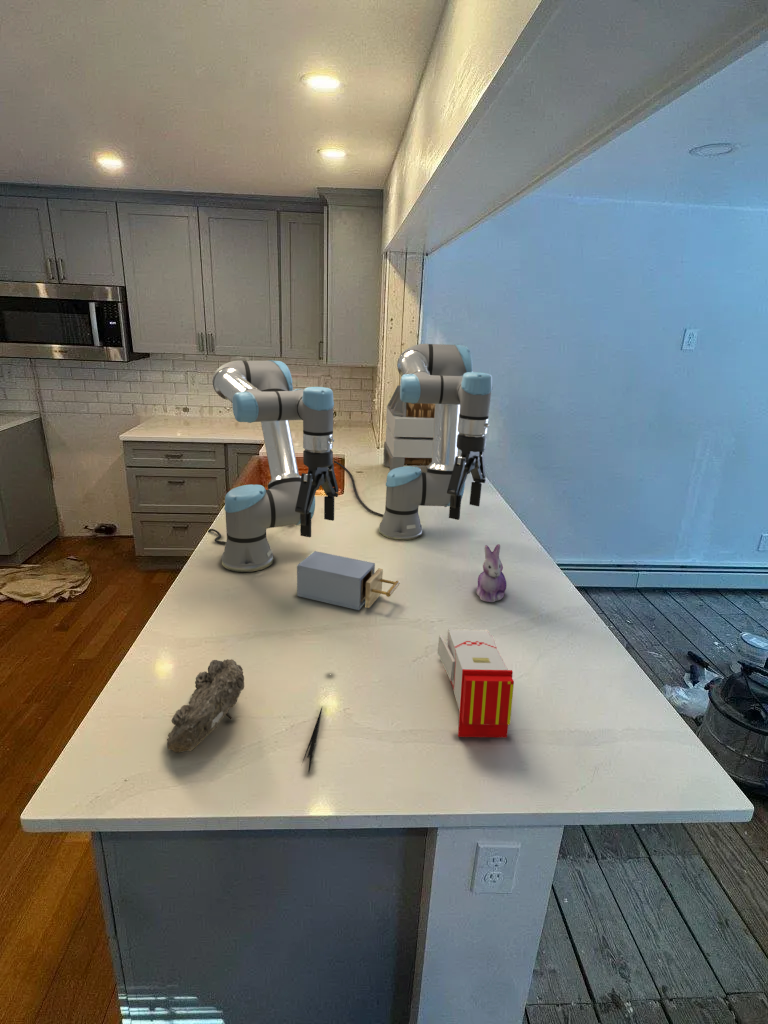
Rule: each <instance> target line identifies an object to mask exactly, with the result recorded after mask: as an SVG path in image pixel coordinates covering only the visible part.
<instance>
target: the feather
mask: <svg viewBox="0 0 768 1024" xmlns="http://www.w3.org/2000/svg"><path fill="white" fill-rule="evenodd" d="M329 675H330V676H331V675H332V674H331V673H330V674H329ZM322 710H323V707H321V708H320V710H319V713H318V716H317V719H316V723H315V725H314V728H313V731H312V733H311V737H310V739H309V742H308V745H307V748H306V751H305V754H304V757H303V760H302V763H301V767H302V765H303V763H304V761H305V758H308V759H309V760H308V762H307V763H308V764H307V766H308V771H310V770H311V766H312V765H311V764H312V760H313V757H315V756H314V755H315V751H316V749H315V746H317V739H318V733H319V729H320V722H321V717H322V712H323V711H322ZM313 754H314V755H313ZM306 755H307V757H306Z"/></svg>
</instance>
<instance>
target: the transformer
mask: <svg viewBox="0 0 768 1024" xmlns="http://www.w3.org/2000/svg"><path fill="white" fill-rule="evenodd" d="M434 413H435V404H425V403H415V404H412V403H406V402H402V401H401V399H400V384H398V385H397V386H396V388H395V390H394V392H393V394H392V395H391V398H390V400H389V402H388V404H387V405H386V413H385V414H386V415H385V423H386V428H385V438H384V442H383V466H384V467H388V468H389V471H391V470H392V469H395V468H398V467H404V466H413V467H427V466H428V465H429V464H431V462H432V449H433V431H434ZM461 453H462V451H461V450H460V449H458V451H457V456H459V457H461Z"/></svg>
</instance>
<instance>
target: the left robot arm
mask: <svg viewBox="0 0 768 1024" xmlns="http://www.w3.org/2000/svg"><path fill="white" fill-rule="evenodd" d="M211 383H212V387H213V390H214V392H215V393H216V394H217V395H218V396H219V397H220V398H222V399H223V400H225V401H226V400H227V401H229V402H230V403H231V404H232V405H231V406H232V414H233V416H234V419H235V421H237V422H239V423H249V424H252V423H260V425H261V430H262V436H263V441H264V447H265V452H266V457H267V463H268V468H269V469H268V470H269V474H270V481H269V482H267V489H266V488H265V487H264V486H263V485H261V484H253V483H251V484H243V485H239V486H235V487H233V488H232V489H230V490H229V491H228V492H226V494H225V496H224V508H223V509H224V513H225V527H226V529H225V530H226V531H225V532H226V540H225V541H223V540H219V539H221V538H222V534H221V533H220V531H218V530H217V529H215V528H210V529H208V530H207V532H208V533H210V532H214V533H215V534H217V536H216V537H215V538H214V542H215V543H217V544H224V548H223V552H222V555H221V565H222V566H223V567H224V568H225V569H226V570H229V571H232V572H237V573H252V572H257V571H261V570H264V569H267V568H268V567H270V566H271V565H272V564H273V563H274V553H273V549H272V548H271V546H270V542H269V540H268V537H267V529H273V528H282V527H290V526H300V528H299V529H300V531H299V532H300V536H301V537H305V538H311V537H312V520H313V517H314V515H315V511H316V493H317V491H319V489H320V487H321V488H322V490H323V492H324V494H325V496H323V497H324V498H323V501H324V502H323V517H324V518H323V519H324V520H327V521H331V522H333V521H335V498H338V497H339V486H338V481H337V478H336V474H335V463H334V452H333V450H332V449H333V448H334V442H335V439H334V408H335V407H334V406H335V401H334V392H333V390H332V389H331V388H330V387H324V386H308V387H305V388H295V389H294V386H293V377H292V373H291V371H290V368H289V366H288V365H287V364H286V363H285V362H283V361H281V360H273V359H269V360H240V359H239V360H232V361H229V362H226V363H223V364H222V365H221V366H220V367H218V368H217V369H216V370H215V372H214V373H213V376H212V382H211ZM290 421H302V448H303V449H304V450H303V451H302V462H303V465H304V466H306V468H307V473H304V472H301V474H300V473H299V468H298V462H297V457H296V452H295V447H294V443H293V437H292V431H291V426H290Z"/></svg>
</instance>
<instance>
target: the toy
mask: <svg viewBox="0 0 768 1024" xmlns="http://www.w3.org/2000/svg"><path fill="white" fill-rule="evenodd" d="M446 640H447V643H446V641H445V639H444V636H443V635H442V634H439V637H438V646H437V656H438V657H439V659H440V661H441V663H442V666H443V668H444V670H445V672H446V674H447V677H448V679H449V681H450V684H451V687H452V690H453V693H454V697H455V701H456V705H457V708H458V711H459V714H458V715H459V716H458V730H457V731H458V732H457V737H458V738H508V731H509V726H510V725H511V717H512V707H513V697H514V696H513V695H514V684H515V680H514V679H513V673H514V671H513V670H512V669H508V667H507V665H506V662H505V661H504V659H503V658H502V655H501V653H500V651H499V649H498V647H497V643H496V639H495V637H494V635H493V634H491V632H490V631H489V629H467V628H466V629H465V628H463V629H461V628H460V629H459V628H448V630H447V639H446Z"/></svg>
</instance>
